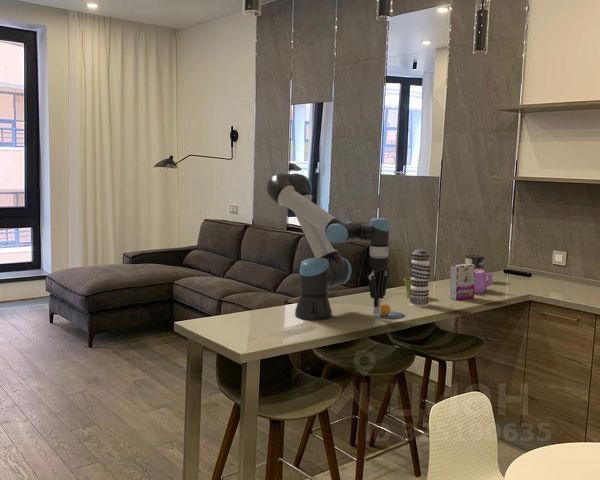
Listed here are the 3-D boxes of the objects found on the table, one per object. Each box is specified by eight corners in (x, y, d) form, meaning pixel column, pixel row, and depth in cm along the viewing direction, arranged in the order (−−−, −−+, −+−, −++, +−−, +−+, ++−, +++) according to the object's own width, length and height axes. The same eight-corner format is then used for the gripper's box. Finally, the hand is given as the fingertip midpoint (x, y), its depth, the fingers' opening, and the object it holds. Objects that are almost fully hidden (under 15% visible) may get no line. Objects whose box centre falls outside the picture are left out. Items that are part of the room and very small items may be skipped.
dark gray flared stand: (485, 280, 343) (486, 255, 342) (479, 283, 335) (481, 257, 333) (467, 278, 349) (468, 254, 347) (461, 281, 340) (462, 256, 339)
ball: (374, 302, 253) (381, 305, 257) (374, 315, 251) (381, 318, 255) (386, 301, 250) (392, 304, 254) (386, 314, 248) (392, 317, 252)
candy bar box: (466, 296, 297) (468, 263, 295) (474, 298, 292) (475, 264, 291) (449, 298, 292) (450, 264, 290) (456, 300, 287) (457, 266, 285)
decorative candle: (406, 302, 281) (407, 248, 278) (425, 302, 281) (427, 248, 279) (411, 307, 272) (413, 251, 269) (431, 306, 272) (434, 251, 270)
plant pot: (408, 299, 288) (408, 281, 287) (399, 295, 297) (400, 277, 296) (426, 298, 291) (426, 280, 290) (417, 294, 300) (417, 277, 299)
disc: (367, 315, 254) (367, 314, 254) (384, 310, 264) (384, 309, 264) (394, 320, 246) (394, 319, 246) (410, 314, 256) (410, 314, 256)
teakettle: (494, 293, 308) (496, 268, 306) (465, 294, 302) (466, 270, 301) (475, 287, 324) (476, 264, 322) (447, 288, 318) (448, 265, 317)
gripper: (378, 259, 238) (376, 318, 241) (395, 256, 248) (393, 313, 251) (362, 257, 243) (360, 315, 246) (379, 254, 253) (378, 310, 256)
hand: (377, 314), depth 248 cm, fingers closed
